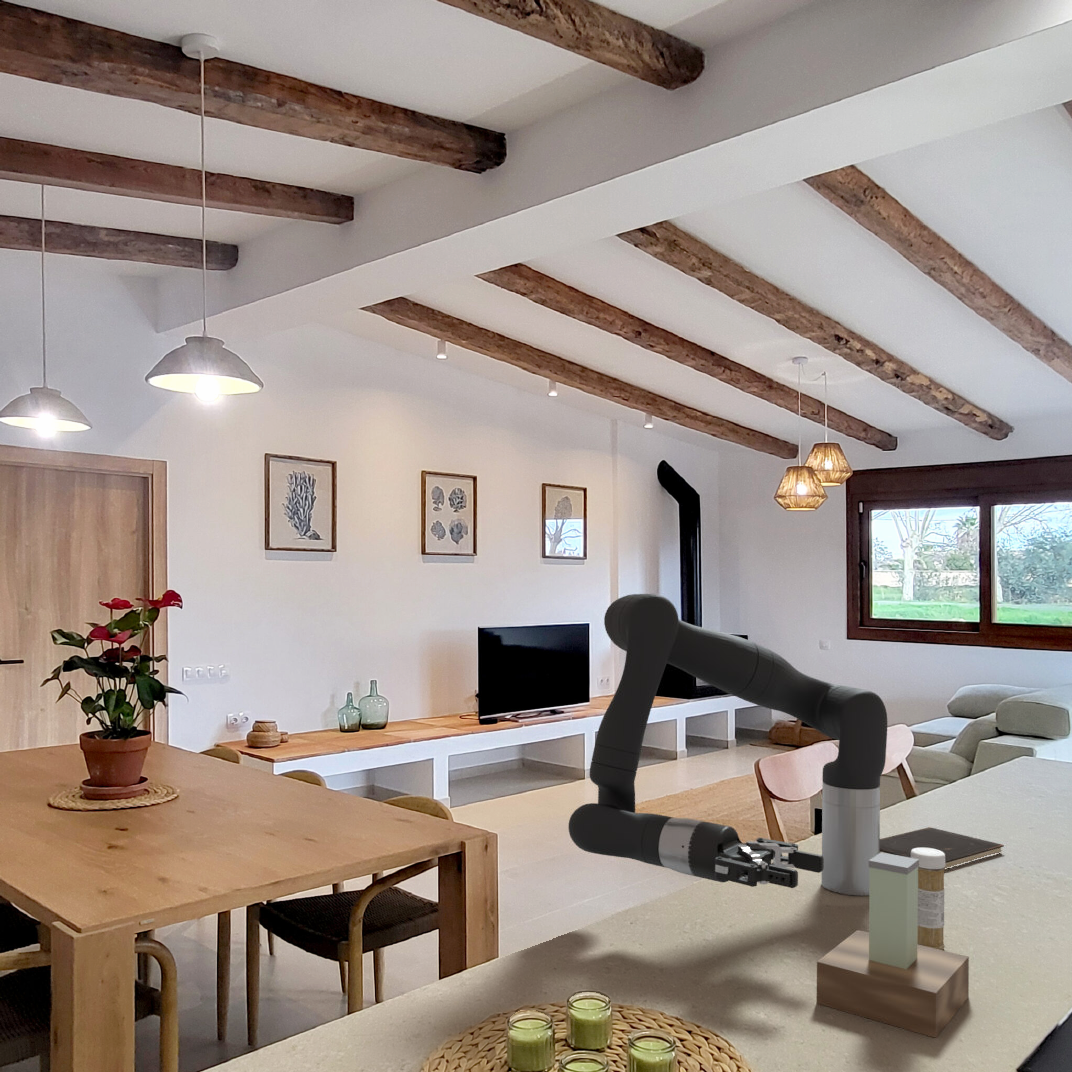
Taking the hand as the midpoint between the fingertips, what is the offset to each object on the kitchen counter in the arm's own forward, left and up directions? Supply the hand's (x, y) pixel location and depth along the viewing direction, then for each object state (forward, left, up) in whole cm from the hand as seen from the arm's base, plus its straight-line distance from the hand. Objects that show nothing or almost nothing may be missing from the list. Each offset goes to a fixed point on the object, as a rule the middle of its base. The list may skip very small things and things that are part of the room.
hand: (810, 871), depth 130 cm
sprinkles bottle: (-21, +9, -14) cm, 27 cm away
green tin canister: (0, +11, -8) cm, 14 cm away
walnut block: (0, +11, -13) cm, 17 cm away
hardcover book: (-71, -5, -14) cm, 72 cm away
